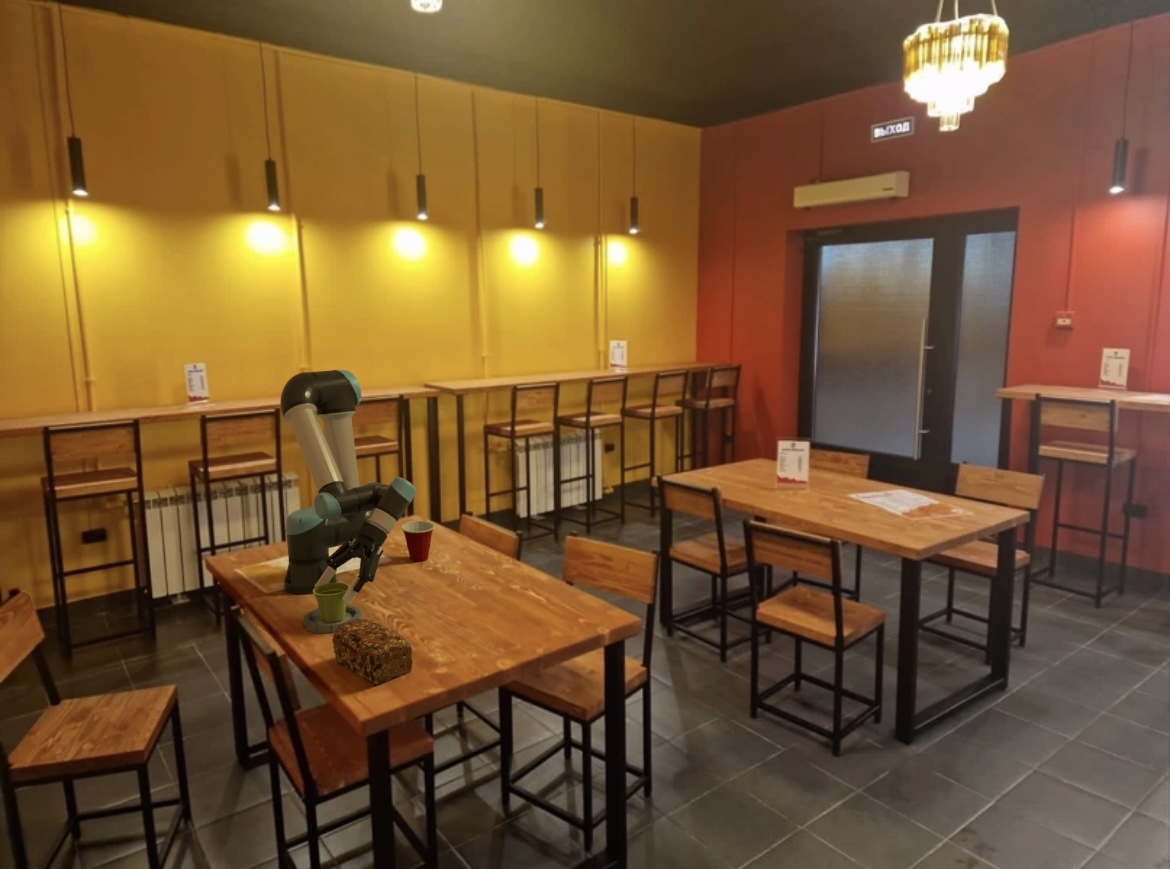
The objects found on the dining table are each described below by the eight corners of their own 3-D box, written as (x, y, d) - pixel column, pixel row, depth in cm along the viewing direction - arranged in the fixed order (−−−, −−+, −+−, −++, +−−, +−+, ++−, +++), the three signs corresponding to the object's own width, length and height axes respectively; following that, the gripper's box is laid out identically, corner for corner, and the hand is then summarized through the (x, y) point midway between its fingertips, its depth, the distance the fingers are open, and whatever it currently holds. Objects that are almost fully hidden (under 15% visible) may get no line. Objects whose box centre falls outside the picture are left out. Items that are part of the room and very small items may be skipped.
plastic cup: (408, 567, 255) (407, 531, 253) (398, 558, 265) (397, 523, 263) (440, 561, 261) (439, 526, 259) (429, 552, 270) (428, 519, 268)
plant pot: (309, 626, 207) (307, 595, 205) (321, 612, 216) (319, 582, 215) (345, 626, 207) (343, 594, 205) (355, 612, 216) (353, 582, 215)
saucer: (296, 633, 204) (296, 625, 204) (315, 611, 219) (315, 604, 218) (351, 632, 204) (351, 625, 204) (367, 611, 218) (366, 604, 218)
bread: (332, 662, 188) (330, 623, 186) (372, 648, 195) (370, 610, 194) (375, 688, 175) (372, 646, 173) (415, 672, 182) (413, 631, 181)
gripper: (412, 544, 212) (367, 613, 204) (360, 526, 228) (317, 590, 220) (395, 529, 207) (348, 600, 199) (343, 513, 224) (298, 577, 215)
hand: (331, 595), depth 210 cm, fingers open, 13 cm apart
